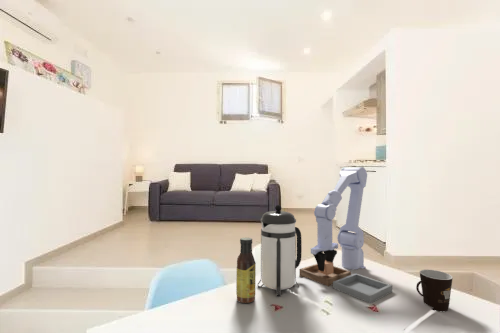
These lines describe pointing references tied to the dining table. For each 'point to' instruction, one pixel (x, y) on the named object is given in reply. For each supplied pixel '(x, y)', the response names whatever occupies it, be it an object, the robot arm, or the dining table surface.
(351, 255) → the robot arm
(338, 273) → the walnut crate
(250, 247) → the sauce bottle
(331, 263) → the terracotta block
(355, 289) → the grey bin
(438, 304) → the coffee mug
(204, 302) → the dining table surface
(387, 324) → the dining table surface
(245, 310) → the dining table surface
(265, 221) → the coffee press
